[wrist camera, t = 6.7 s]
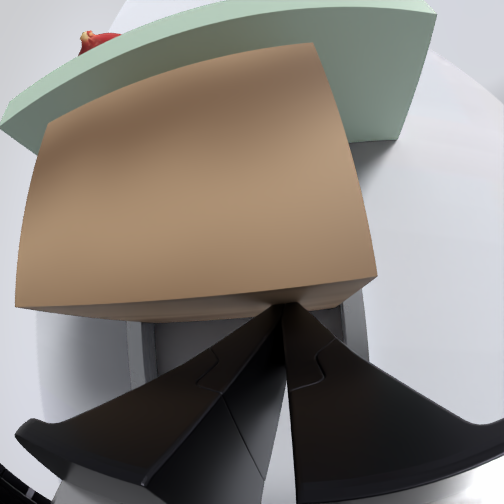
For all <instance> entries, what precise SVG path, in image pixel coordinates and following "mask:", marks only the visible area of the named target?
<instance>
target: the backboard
mask: <svg viewBox="0 0 504 504" xmlns="http://www.w3.org/2000/svg"><path fill="white" fill-rule="evenodd" d="M436 17H437V14H436V12H435V11H434V10H432V8H431V7H430V6H429V5H428V4H427V3H426V2H425V1H424V0H225V1H221V2H217V3H213V4H209V5H205V6H201V7H197V8H194V9H190V10H187V11H184V12H180V13H177V14H174V15H171V16H168V17H165V18H162V19H160V20H157V21H154V22H151V23H149V24H146V25H144V26H141V27H138V28H136V29H134V30H131V31H129V32H127V33H124V34H122V35H120V36H117V37H115V38H113V39H111V40H109V41H107V42H105V43H103V44H101V45H99V46H97V47H95V48H93V49H91V50H89V51H87V52H85V53H83V54H81V55H80V56H78V57H76V58H74V59H73V60H71V61H69V62H67V63H66V64H64V65H62V66H61V67H59V68H57V69H56V70H54V71H53V72H51V73H49V74H48V75H46V76H45V77H44V78H42V79H40V80H39V81H37V82H36V83H35V84H33V85H32V86H30V87H29V88H27V89H26V90H25V91H23V92H22V93H20V94H19V95H18V96H16V97H15V98H14V99H13V100H11V101H10V102H9V104H8V107H7V109H6V111H5V113H4V115H3V117H2V120H1V122H0V129H1V130H2V131H4V132H5V133H7V134H8V135H9V136H11V137H12V138H13V139H15V140H16V141H17V142H19V143H20V144H22V145H23V146H24V147H26V148H27V149H29V150H30V151H32V152H33V153H34V154H36V155H37V156H38V153H39V149H40V146H41V143H42V140H43V137H44V134H45V131H46V128H47V125H48V123H50V122H51V121H53V120H55V119H57V118H59V117H61V116H62V115H64V114H66V113H68V112H70V111H72V110H74V109H76V108H78V107H80V106H82V105H84V104H86V103H88V102H91V101H93V100H95V99H97V98H99V97H102V96H104V95H106V94H108V93H111V92H113V91H115V90H118V89H120V88H123V87H125V86H128V85H130V84H133V83H136V82H138V81H141V80H144V79H147V78H149V77H152V76H155V75H158V74H161V73H164V72H167V71H170V70H174V69H177V68H180V67H184V66H187V65H191V64H194V63H198V62H202V61H206V60H210V59H214V58H218V57H222V56H227V55H231V54H236V53H241V52H246V51H252V50H257V49H263V48H270V47H276V46H284V45H292V44H301V43H312V42H313V44H314V46H315V48H316V51H317V53H318V56H319V58H320V61H321V63H322V66H323V69H324V71H325V74H326V77H327V79H328V82H329V85H330V88H331V90H332V93H333V96H334V99H335V102H336V105H337V108H338V111H339V114H340V117H341V120H342V124H343V127H344V130H345V133H346V137H347V140H348V143H353V142H365V141H380V140H397V139H398V137H399V135H400V132H401V130H402V127H403V124H404V121H405V119H406V116H407V113H408V110H409V107H410V105H411V102H412V99H413V96H414V93H415V90H416V87H417V84H418V81H419V78H420V74H421V71H422V68H423V65H424V61H425V58H426V55H427V51H428V48H429V44H430V40H431V37H432V33H433V29H434V25H435V21H436Z"/></svg>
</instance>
